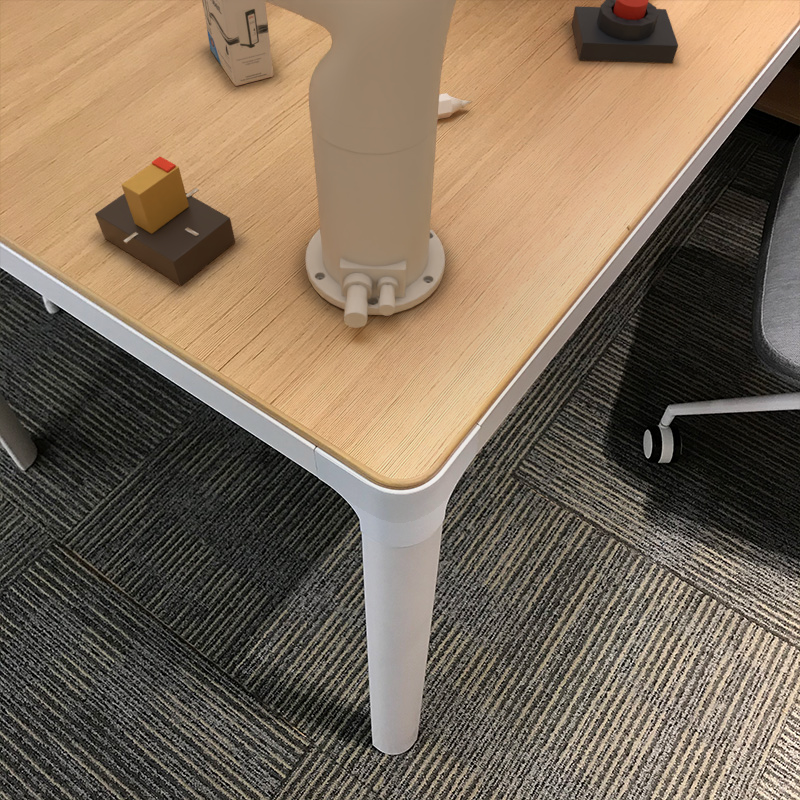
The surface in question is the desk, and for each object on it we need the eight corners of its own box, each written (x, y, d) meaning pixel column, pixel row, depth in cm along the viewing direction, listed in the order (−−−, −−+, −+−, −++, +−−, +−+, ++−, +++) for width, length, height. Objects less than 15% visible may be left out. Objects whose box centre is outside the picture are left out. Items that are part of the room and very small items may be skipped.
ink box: (209, 49, 90) (188, -58, 80) (249, 39, 91) (233, -67, 81) (234, 88, 85) (216, -21, 76) (276, 77, 87) (263, -31, 77)
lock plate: (242, 237, 72) (237, 210, 69) (173, 292, 68) (165, 266, 65) (166, 193, 75) (158, 167, 72) (96, 244, 71) (85, 217, 68)
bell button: (646, 22, 88) (651, 7, 87) (615, 21, 88) (619, 6, 87) (641, 5, 90) (645, -10, 89) (611, 5, 90) (614, -11, 89)
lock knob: (151, 234, 67) (138, 192, 63) (134, 224, 68) (119, 181, 64) (189, 206, 69) (178, 164, 66) (172, 196, 70) (160, 154, 66)
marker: (471, 116, 84) (331, 141, 81) (466, 97, 84) (326, 122, 81) (478, 104, 82) (334, 130, 78) (473, 85, 82) (328, 110, 79)
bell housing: (672, 63, 90) (683, 30, 87) (578, 60, 90) (586, 27, 86) (660, 26, 94) (670, -7, 91) (571, 23, 94) (578, -9, 91)
